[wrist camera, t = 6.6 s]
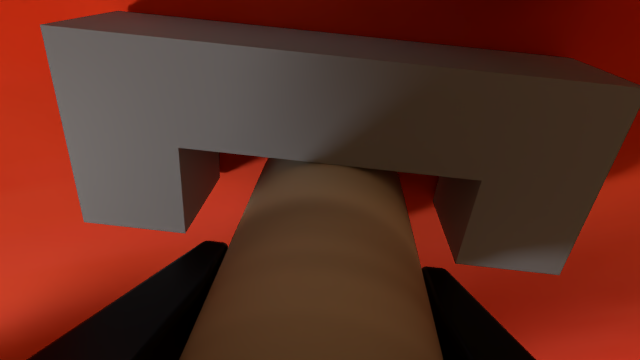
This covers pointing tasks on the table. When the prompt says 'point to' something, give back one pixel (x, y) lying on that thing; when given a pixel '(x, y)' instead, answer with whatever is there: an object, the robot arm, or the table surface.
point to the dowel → (319, 273)
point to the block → (337, 124)
